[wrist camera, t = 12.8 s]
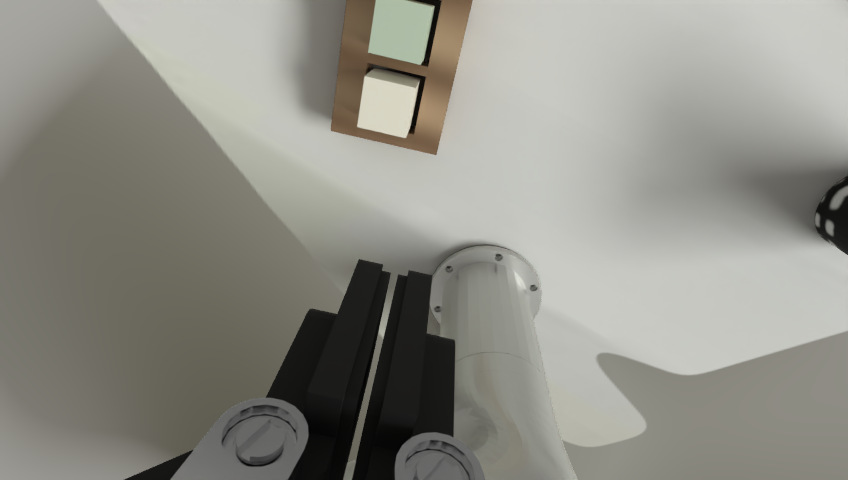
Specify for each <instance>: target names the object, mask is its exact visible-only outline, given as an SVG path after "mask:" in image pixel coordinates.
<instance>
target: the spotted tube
mask: <svg viewBox="0 0 848 480" xmlns="http://www.w3.org/2000/svg"><path fill="white" fill-rule="evenodd" d="M815 224H816V228H817V231H818V233H819V234H820V235H821V237H822V238H824V239H825V240H826V241H828V242H829V243H831V244H832V245H834V246H835V247H837V248H838V249H840V250H841V251H843V252H844V253H846V254H847V255H848V177H846V178H844V179H843V180H841V181H840V182H838V183H837V184H836V185H835V186H833V187H832V188H831V189H830V190H829V191H828V192H827V194H826V195H825V196H824V197H823V199H822V200H821V202H820V204H819V206H818V209H817V211H816V217H815Z"/></svg>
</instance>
